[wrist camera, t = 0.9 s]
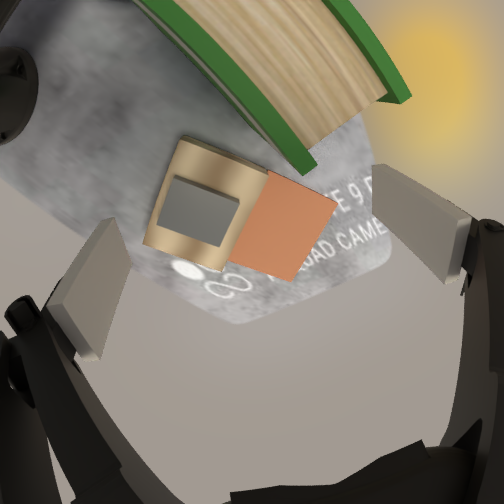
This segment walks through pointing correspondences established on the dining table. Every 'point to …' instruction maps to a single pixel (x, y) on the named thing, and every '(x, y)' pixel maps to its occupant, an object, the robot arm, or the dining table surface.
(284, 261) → the mat
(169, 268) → the dining table surface
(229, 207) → the gray flat block
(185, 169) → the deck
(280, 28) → the hardback book
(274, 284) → the dining table surface
